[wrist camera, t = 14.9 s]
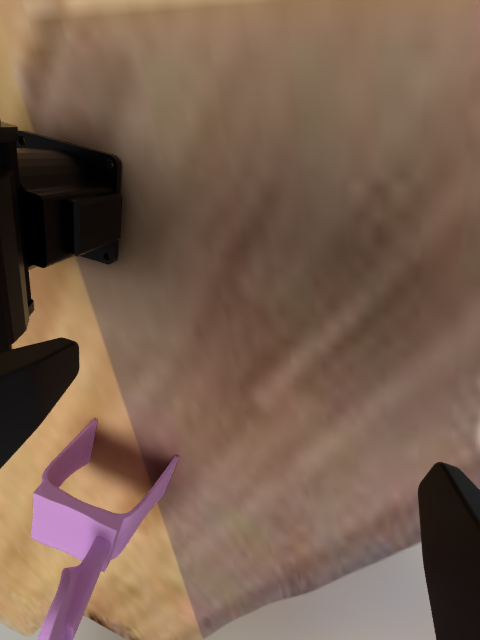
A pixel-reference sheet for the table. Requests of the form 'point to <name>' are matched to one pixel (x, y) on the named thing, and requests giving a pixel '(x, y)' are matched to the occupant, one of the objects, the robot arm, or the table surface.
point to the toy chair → (82, 532)
